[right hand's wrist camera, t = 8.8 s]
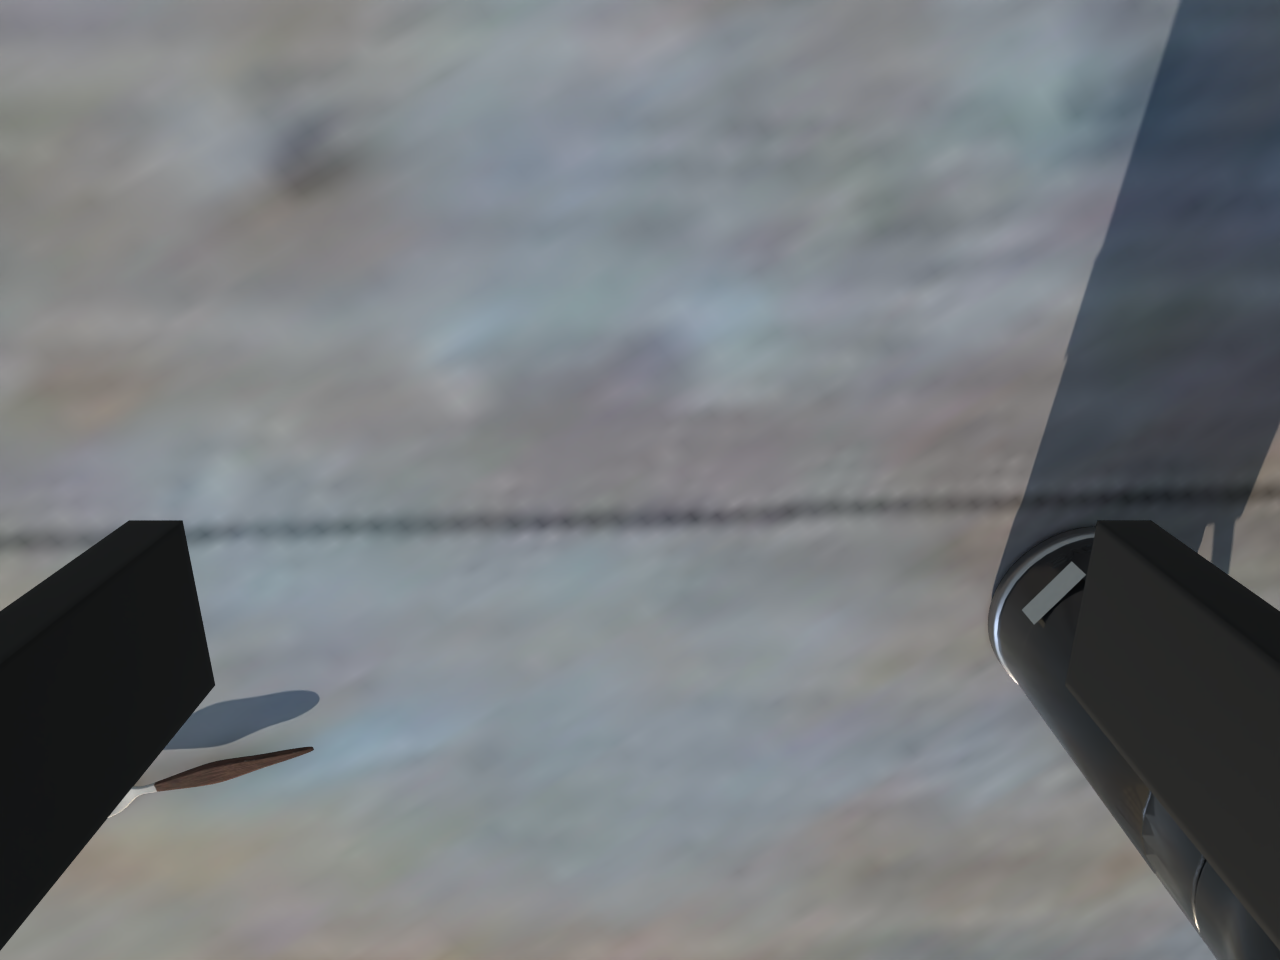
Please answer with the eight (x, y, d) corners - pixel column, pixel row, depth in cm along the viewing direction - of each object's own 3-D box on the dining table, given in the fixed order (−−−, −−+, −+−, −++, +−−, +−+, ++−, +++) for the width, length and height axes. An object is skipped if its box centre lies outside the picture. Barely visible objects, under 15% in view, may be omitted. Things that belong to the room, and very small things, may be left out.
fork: (326, 761, 47) (313, 787, 45) (60, 827, 48) (36, 854, 46) (306, 722, 46) (292, 746, 44) (36, 790, 47) (11, 816, 45)
